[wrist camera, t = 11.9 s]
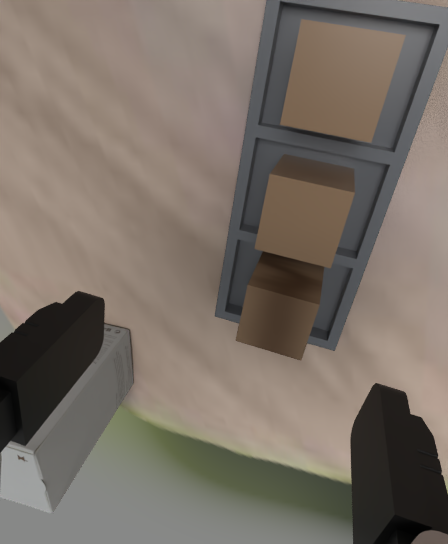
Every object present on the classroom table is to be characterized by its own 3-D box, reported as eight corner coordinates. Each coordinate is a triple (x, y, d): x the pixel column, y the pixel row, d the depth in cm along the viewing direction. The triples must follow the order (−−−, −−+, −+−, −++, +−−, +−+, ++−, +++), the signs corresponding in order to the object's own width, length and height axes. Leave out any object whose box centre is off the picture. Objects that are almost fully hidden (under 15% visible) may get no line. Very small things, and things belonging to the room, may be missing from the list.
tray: (222, 302, 37) (197, 348, 31) (276, -12, 25) (253, -34, 19) (335, 334, 35) (332, 389, 29) (451, 13, 23) (486, -3, 17)
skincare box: (78, 315, 43) (-42, 428, 30) (134, 328, 42) (34, 452, 29) (86, 373, 47) (-17, 495, 34) (137, 387, 46) (51, 519, 33)
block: (252, 299, 35) (235, 340, 30) (263, 249, 32) (247, 284, 27) (308, 315, 34) (301, 360, 29) (324, 265, 32) (319, 304, 27)
